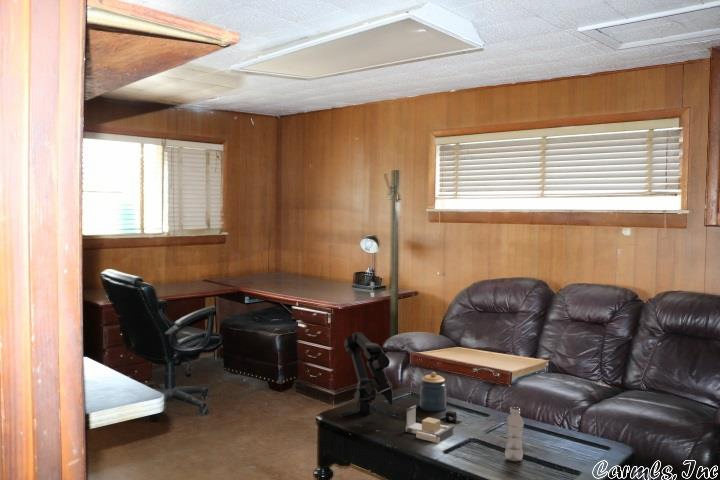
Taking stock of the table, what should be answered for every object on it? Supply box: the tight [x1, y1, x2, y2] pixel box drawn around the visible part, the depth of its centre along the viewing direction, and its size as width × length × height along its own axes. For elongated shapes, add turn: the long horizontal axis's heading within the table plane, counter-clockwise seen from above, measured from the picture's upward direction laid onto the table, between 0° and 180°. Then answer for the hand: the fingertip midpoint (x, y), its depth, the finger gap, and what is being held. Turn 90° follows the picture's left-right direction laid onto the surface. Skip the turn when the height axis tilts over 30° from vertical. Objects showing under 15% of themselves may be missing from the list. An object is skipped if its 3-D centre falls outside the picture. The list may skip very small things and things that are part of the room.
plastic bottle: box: [504, 406, 525, 462], centre depth 229 cm, size 6×7×20 cm
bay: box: [415, 424, 455, 444], centre depth 255 cm, size 10×14×3 cm
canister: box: [419, 371, 448, 412], centre depth 293 cm, size 13×13×18 cm
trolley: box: [405, 404, 445, 436], centre depth 258 cm, size 16×9×10 cm, turn 55°
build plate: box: [439, 410, 463, 426], centre depth 274 cm, size 12×7×5 cm, turn 51°
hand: (392, 404), depth 268 cm, fingers closed
